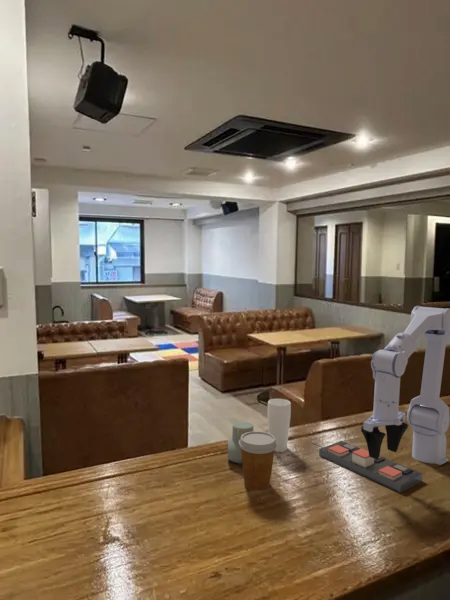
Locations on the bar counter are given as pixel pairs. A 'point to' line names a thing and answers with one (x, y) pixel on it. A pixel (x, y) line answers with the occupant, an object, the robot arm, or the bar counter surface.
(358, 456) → the button
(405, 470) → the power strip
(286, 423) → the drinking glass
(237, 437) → the air freshener
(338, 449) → the button
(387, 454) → the bar counter surface
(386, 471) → the button
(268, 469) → the disposable coffee cup
